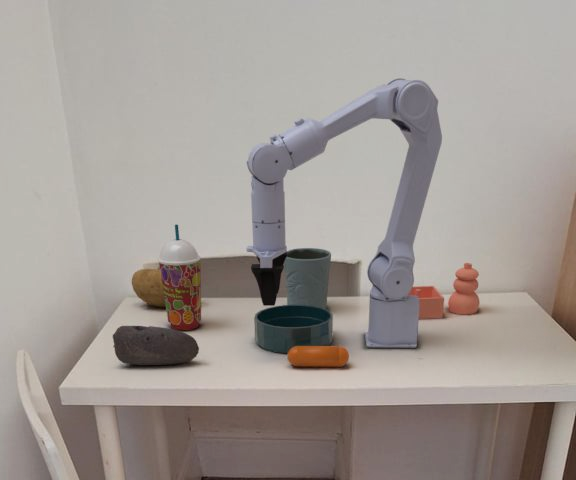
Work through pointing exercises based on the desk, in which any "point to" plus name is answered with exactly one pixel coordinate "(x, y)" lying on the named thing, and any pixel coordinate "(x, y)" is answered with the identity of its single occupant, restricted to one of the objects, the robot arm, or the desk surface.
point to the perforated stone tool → (153, 345)
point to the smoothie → (181, 283)
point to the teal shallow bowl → (293, 327)
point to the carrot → (318, 356)
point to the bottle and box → (458, 302)
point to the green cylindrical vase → (307, 276)
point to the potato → (149, 286)
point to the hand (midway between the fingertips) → (270, 299)
